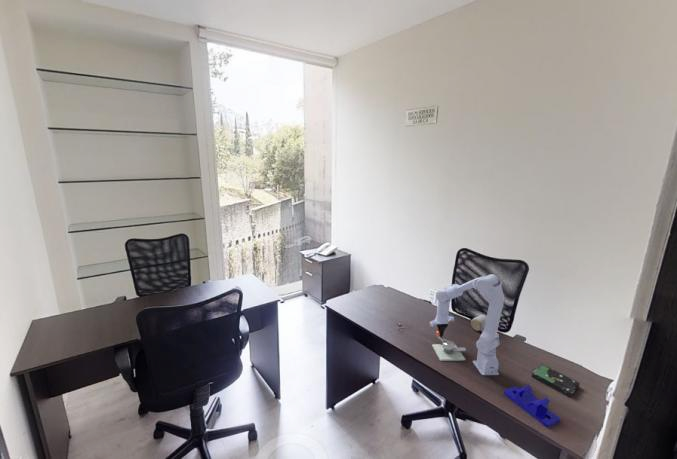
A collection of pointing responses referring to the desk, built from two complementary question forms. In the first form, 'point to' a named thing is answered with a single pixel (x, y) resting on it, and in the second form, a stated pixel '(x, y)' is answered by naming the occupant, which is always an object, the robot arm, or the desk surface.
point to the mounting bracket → (532, 405)
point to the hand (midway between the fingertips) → (440, 335)
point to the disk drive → (555, 380)
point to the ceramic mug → (479, 323)
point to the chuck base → (446, 356)
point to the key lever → (446, 342)
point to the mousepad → (400, 325)
